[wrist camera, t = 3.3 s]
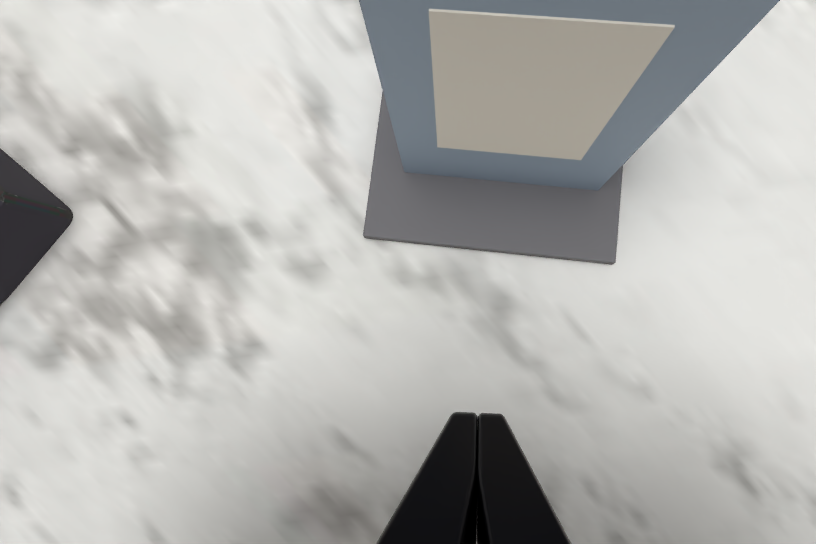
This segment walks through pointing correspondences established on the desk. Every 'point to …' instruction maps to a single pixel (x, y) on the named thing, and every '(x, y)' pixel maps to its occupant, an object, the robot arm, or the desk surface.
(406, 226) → the mat
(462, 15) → the card box
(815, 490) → the desk surface
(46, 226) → the calculator
